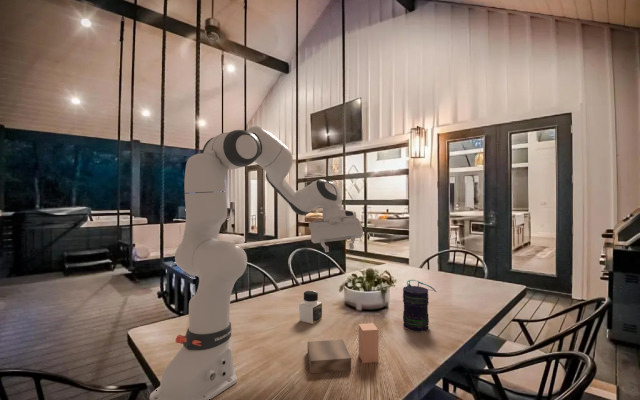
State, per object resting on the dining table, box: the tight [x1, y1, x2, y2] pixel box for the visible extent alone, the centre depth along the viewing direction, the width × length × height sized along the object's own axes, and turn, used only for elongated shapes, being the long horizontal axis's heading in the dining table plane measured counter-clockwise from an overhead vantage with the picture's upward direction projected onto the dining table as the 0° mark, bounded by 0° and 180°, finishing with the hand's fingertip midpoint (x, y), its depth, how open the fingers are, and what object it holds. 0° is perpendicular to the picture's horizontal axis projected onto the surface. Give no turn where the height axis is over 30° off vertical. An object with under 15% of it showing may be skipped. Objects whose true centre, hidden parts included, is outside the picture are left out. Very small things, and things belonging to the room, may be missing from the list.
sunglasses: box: [406, 279, 437, 292], centre depth 165 cm, size 14×15×5 cm
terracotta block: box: [358, 322, 379, 364], centre depth 92 cm, size 5×5×10 cm
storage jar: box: [402, 285, 430, 333], centre depth 116 cm, size 10×10×15 cm
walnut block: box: [307, 339, 352, 374], centre depth 91 cm, size 12×12×4 cm
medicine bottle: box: [298, 289, 323, 325], centre depth 123 cm, size 7×7×12 cm
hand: (339, 250), depth 108 cm, fingers open, 8 cm apart
